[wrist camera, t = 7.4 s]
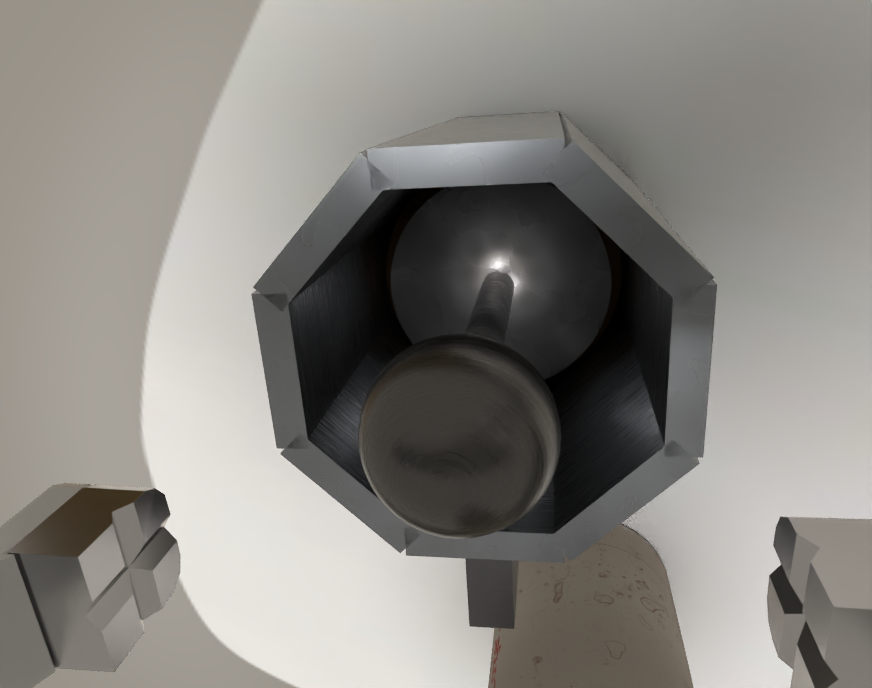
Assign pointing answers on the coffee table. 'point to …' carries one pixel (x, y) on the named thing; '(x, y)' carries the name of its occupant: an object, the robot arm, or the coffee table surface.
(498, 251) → the plunger
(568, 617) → the thermos bottle
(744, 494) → the coffee table surface
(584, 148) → the octagonal steel cup
